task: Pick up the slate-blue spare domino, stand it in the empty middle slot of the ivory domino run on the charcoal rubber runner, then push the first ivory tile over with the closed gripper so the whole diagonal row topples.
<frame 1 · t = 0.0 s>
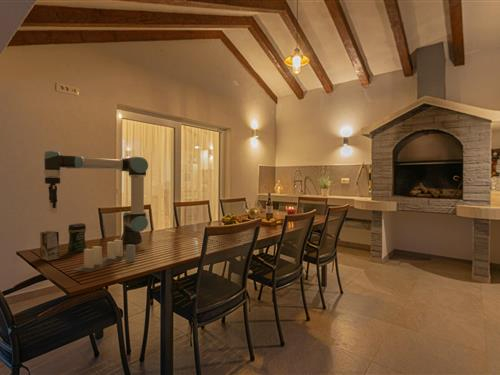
hand: (53, 212, 159), 28 cm above the table, fingers open, 13 cm apart
coffee jar: (77, 251, 174), on the table
domino 1: (118, 255, 165), resting on runner
domino 4: (97, 264, 148), resting on runner
domino 5: (89, 267, 143), resting on runner
runner: (102, 262, 152), on the table
coffee box: (49, 258, 159), on the table
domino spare: (130, 261, 155), on the table
domino 2: (111, 258, 159), resting on runner
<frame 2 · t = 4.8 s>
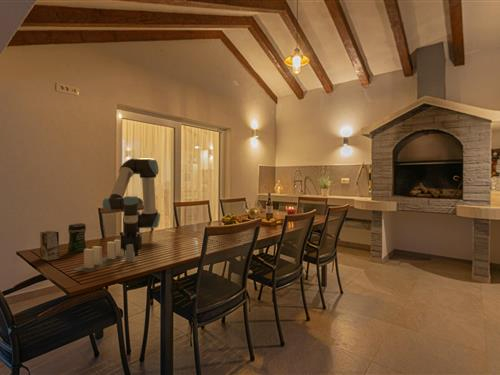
hand: (130, 261, 155), 0 cm above the table, fingers closed on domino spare, 5 cm apart
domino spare: (130, 261, 155), on the table, touching gripper
everything else where it was.
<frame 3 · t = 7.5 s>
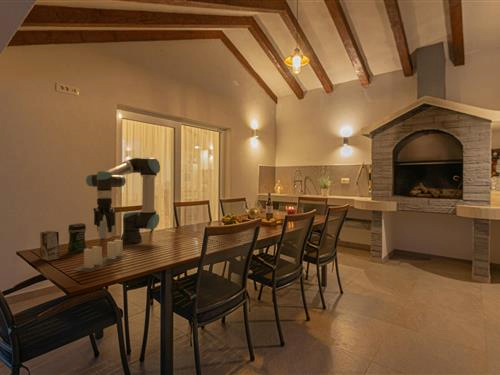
hand: (104, 237, 153), 15 cm above the table, fingers closed on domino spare, 5 cm apart
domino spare: (104, 237, 153), point 14 cm above the table, touching gripper
everything else where it was.
when the fingers open (2 cm above the table, at t = 10.0 s): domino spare stays where it is, resting on runner.
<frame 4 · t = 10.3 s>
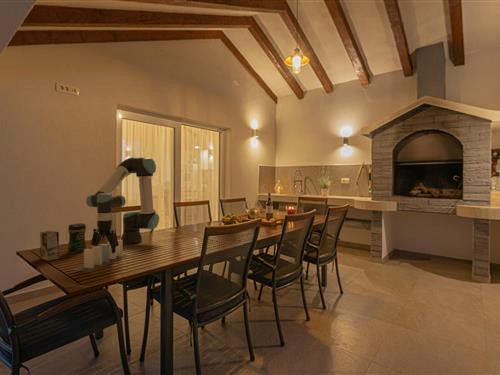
hand: (104, 257, 154), 3 cm above the table, fingers open, 10 cm apart
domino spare: (104, 261, 154), resting on runner
everything else where it was.
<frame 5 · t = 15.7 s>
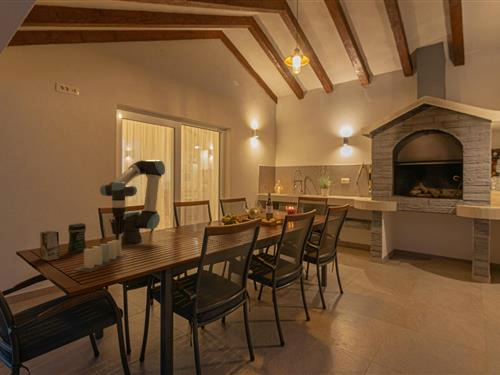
hand: (118, 244, 164), 8 cm above the table, fingers closed
domino 1: (118, 255, 164), point 1 cm above the table, tilted 11°, touching runner
everything else where it was.
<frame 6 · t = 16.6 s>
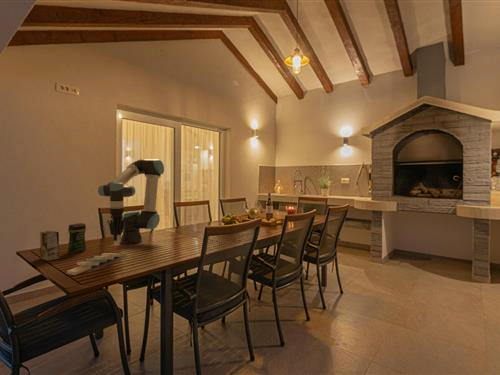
hand: (116, 245, 163), 7 cm above the table, fingers closed
domino 1: (117, 255, 164), point 1 cm above the table, tilted 73°, touching domino 2, runner
domino 4: (95, 263, 147), point 1 cm above the table, tilted 73°, touching domino 5, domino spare, runner
domino 5: (87, 266, 142), point 1 cm above the table, tilted 90°, touching domino 4, runner
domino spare: (103, 260, 153), point 1 cm above the table, tilted 73°, touching domino 2, domino 4, runner
domino 2: (110, 257, 158), point 1 cm above the table, tilted 73°, touching domino 1, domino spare, runner
everything else where it was.
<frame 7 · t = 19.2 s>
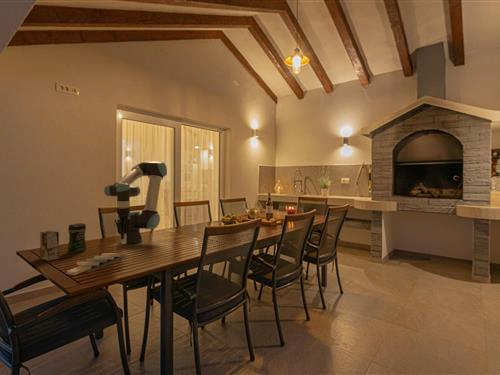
hand: (123, 243, 169), 7 cm above the table, fingers closed
nothing on the table moved.
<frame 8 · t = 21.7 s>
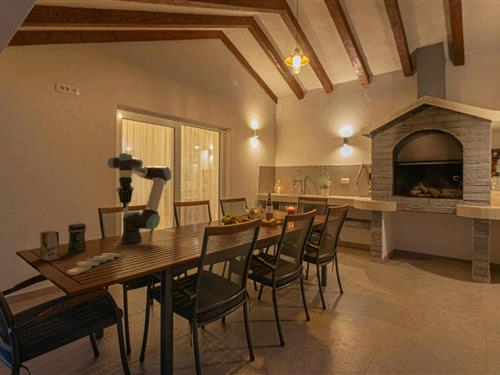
hand: (125, 212, 172), 26 cm above the table, fingers closed
nothing on the table moved.
at the end: domino 5 tilted 90°; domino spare tilted 73°; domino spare 0.4 cm from the runner (horizontally) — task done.
